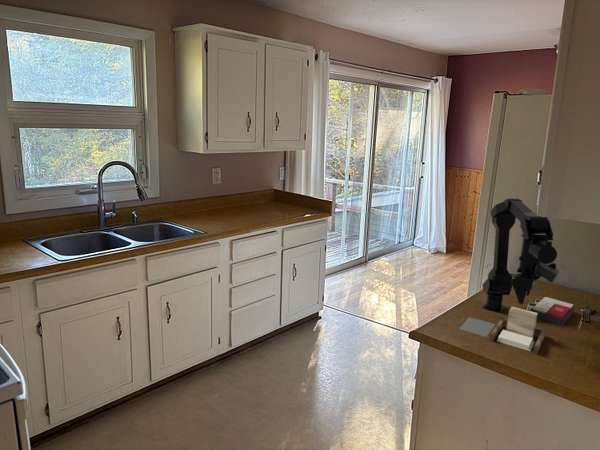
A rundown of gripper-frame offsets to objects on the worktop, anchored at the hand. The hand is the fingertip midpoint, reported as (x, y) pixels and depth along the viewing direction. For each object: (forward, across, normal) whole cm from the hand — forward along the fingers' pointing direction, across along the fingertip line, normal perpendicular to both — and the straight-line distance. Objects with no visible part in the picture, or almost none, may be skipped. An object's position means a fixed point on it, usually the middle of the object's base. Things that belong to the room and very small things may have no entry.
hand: (523, 299), depth 151 cm
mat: (+13, -3, +13) cm, 19 cm away
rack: (+13, -3, 0) cm, 14 cm away
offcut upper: (+13, -6, 0) cm, 14 cm away
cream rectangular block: (+13, 0, 0) cm, 13 cm away
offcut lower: (+14, -6, 0) cm, 15 cm away
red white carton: (+14, +27, -6) cm, 31 cm away
